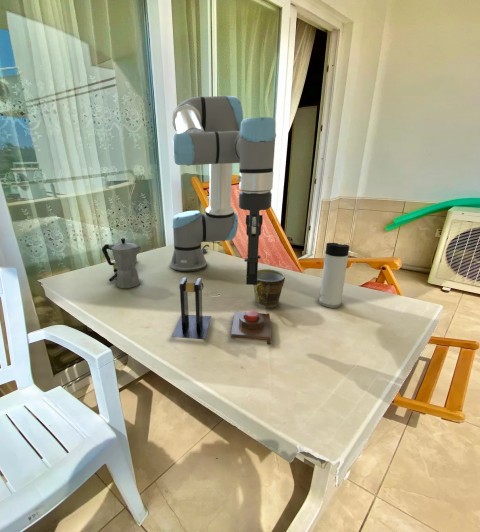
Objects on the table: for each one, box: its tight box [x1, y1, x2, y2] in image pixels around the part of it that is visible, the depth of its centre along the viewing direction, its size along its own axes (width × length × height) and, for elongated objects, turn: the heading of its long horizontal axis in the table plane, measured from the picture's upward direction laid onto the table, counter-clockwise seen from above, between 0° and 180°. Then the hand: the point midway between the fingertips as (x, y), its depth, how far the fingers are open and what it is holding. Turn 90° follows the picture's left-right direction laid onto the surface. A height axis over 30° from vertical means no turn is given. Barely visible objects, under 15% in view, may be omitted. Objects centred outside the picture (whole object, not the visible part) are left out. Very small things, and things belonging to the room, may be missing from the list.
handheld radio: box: [108, 256, 138, 282], centre depth 128 cm, size 7×3×25 cm
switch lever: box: [186, 280, 204, 293], centre depth 85 cm, size 13×3×3 cm, turn 168°
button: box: [244, 309, 260, 322], centre depth 82 cm, size 4×4×2 cm
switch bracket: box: [171, 277, 212, 341], centre depth 82 cm, size 12×9×15 cm
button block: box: [230, 311, 272, 345], centre depth 83 cm, size 12×10×4 cm
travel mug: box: [318, 242, 350, 309], centre depth 92 cm, size 6×7×20 cm
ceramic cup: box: [252, 268, 286, 309], centre depth 94 cm, size 13×10×10 cm
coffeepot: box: [101, 238, 142, 289], centre depth 113 cm, size 15×9×18 cm, turn 79°
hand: (251, 283), depth 79 cm, fingers closed
